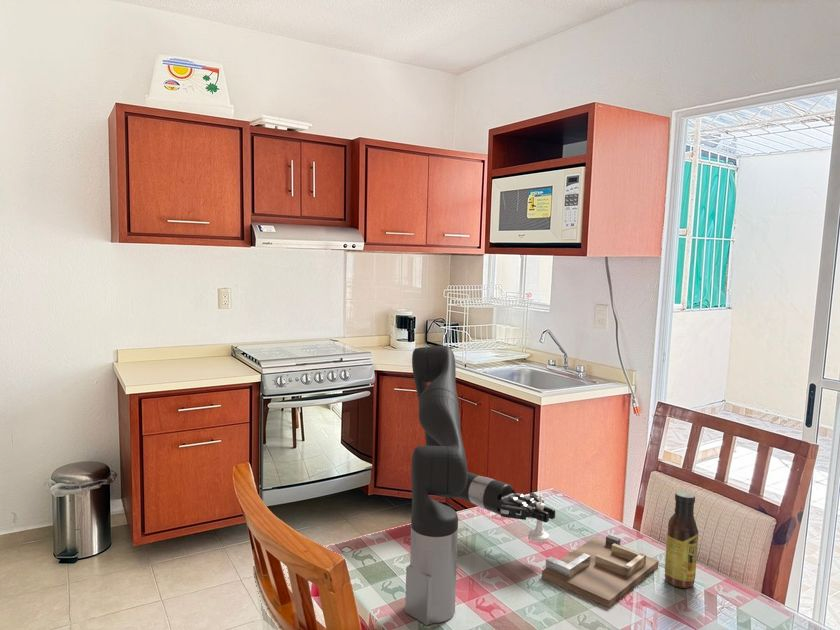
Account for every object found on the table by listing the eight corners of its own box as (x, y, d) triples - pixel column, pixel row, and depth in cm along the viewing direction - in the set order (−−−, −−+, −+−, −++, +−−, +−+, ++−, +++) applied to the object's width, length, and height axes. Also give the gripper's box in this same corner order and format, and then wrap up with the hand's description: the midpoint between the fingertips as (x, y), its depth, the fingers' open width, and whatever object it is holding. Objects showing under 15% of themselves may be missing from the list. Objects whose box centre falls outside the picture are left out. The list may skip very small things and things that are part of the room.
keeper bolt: (569, 578, 130) (569, 569, 129) (545, 567, 134) (546, 559, 134) (590, 564, 136) (590, 555, 136) (566, 554, 140) (567, 546, 140)
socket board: (608, 607, 122) (609, 591, 121) (541, 577, 133) (542, 562, 133) (658, 566, 139) (659, 552, 138) (594, 542, 150) (595, 529, 150)
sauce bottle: (692, 592, 128) (698, 503, 126) (661, 584, 131) (667, 496, 130) (696, 579, 134) (702, 493, 132) (666, 571, 137) (672, 487, 135)
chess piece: (536, 531, 143) (538, 490, 142) (553, 538, 140) (555, 496, 139) (523, 537, 140) (525, 495, 139) (541, 544, 136) (543, 501, 135)
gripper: (474, 486, 144) (535, 508, 132) (508, 473, 154) (568, 493, 142) (472, 516, 145) (533, 541, 132) (507, 502, 154) (566, 523, 142)
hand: (551, 516), depth 137 cm, fingers closed on chess piece
